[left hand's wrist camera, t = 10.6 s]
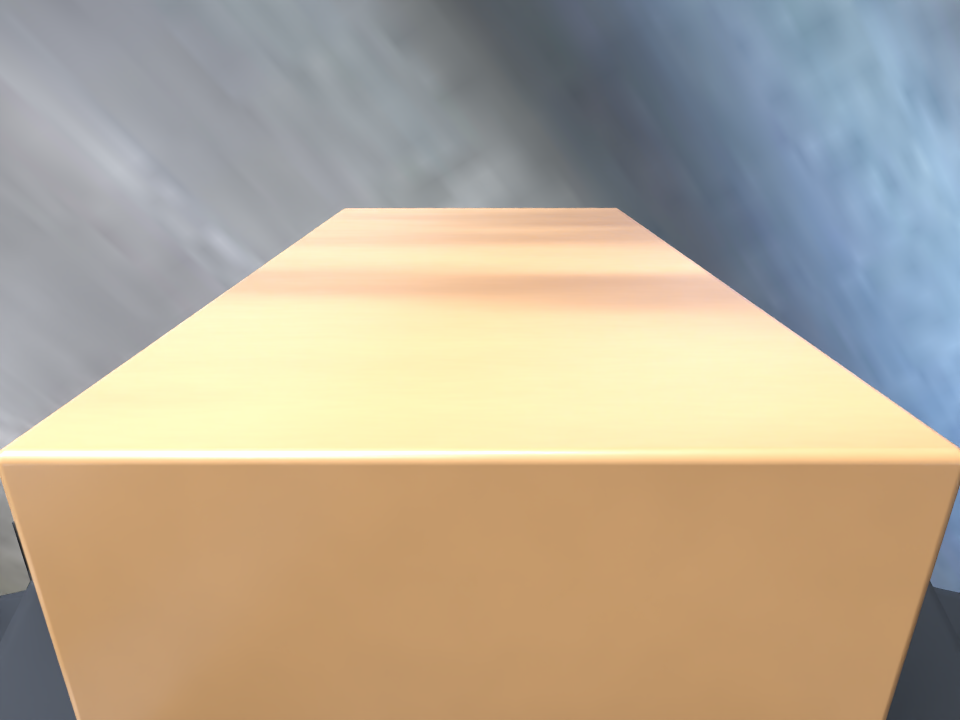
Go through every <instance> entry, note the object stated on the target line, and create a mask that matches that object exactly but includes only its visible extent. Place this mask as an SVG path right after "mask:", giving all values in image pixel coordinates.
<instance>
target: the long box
mask: <svg viewBox="0 0 960 720" xmlns="http://www.w3.org/2000/svg"><path fill="white" fill-rule="evenodd" d="M0 477H1V481H2V484H3V487H4V490H5V493H6V496H7V500H8V503H9V506H10V509H11V512H12V516H13V519H14V522H15V525H16V528H17V531H18V535H19V538H20V541H21V544H22V547H23V550H24V554H25V557H26V560H27V563H28V566H29V570H30V573H31V576H32V579H33V582H34V585H35V589H36V592H37V595H38V598H39V601H40V604H41V608H42V611H43V614H44V617H45V620H46V624H47V627H48V630H49V633H50V636H51V639H52V643H53V646H54V649H55V652H56V655H57V659H58V662H59V665H60V668H61V671H62V674H63V678H64V681H65V684H66V687H67V690H68V693H69V697H70V700H71V703H72V706H73V709H74V713H75V716H76V719H77V720H886V718H887V715H888V712H889V709H890V705H891V702H892V699H893V696H894V693H895V690H896V686H897V683H898V680H899V677H900V674H901V670H902V667H903V664H904V661H905V658H906V655H907V651H908V648H909V645H910V642H911V639H912V635H913V632H914V629H915V626H916V623H917V620H918V616H919V613H920V610H921V607H922V604H923V600H924V597H925V594H926V591H927V588H928V585H929V581H930V578H931V575H932V572H933V569H934V566H935V562H936V559H937V556H938V553H939V550H940V546H941V543H942V540H943V537H944V534H945V531H946V527H947V524H948V521H949V518H950V515H951V511H952V508H953V505H954V502H955V499H956V496H957V492H958V489H959V486H960V448H959V447H958V446H956V445H955V444H953V443H952V442H950V441H949V440H948V439H946V438H945V437H943V436H942V435H940V434H939V433H938V432H936V431H935V430H933V429H932V428H930V427H929V426H928V425H926V424H925V423H923V422H922V421H920V420H919V419H918V418H916V417H915V416H913V415H912V414H910V413H909V412H908V411H906V410H905V409H903V408H902V407H900V406H899V405H898V404H896V403H895V402H893V401H892V400H890V399H889V398H888V397H886V396H885V395H883V394H882V393H880V392H879V391H878V390H876V389H875V388H873V387H872V386H870V385H869V384H868V383H866V382H865V381H863V380H862V379H860V378H859V377H858V376H856V375H855V374H853V373H852V372H850V371H849V370H848V369H846V368H845V367H843V366H842V365H840V364H839V363H838V362H836V361H835V360H833V359H832V358H830V357H829V356H828V355H826V354H825V353H823V352H822V351H820V350H819V349H818V348H816V347H815V346H813V345H812V344H810V343H809V342H808V341H806V340H805V339H803V338H802V337H800V336H799V335H798V334H796V333H795V332H793V331H792V330H790V329H789V328H788V327H786V326H785V325H783V324H782V323H780V322H779V321H778V320H776V319H775V318H773V317H772V316H770V315H769V314H768V313H766V312H765V311H763V310H762V309H760V308H759V307H758V306H756V305H755V304H753V303H752V302H750V301H749V300H748V299H746V298H745V297H743V296H742V295H740V294H739V293H738V292H736V291H735V290H733V289H732V288H730V287H729V286H728V285H726V284H725V283H723V282H722V281H720V280H719V279H718V278H716V277H715V276H713V275H712V274H710V273H709V272H708V271H706V270H705V269H703V268H702V267H700V266H699V265H698V264H696V263H695V262H693V261H692V260H690V259H689V258H688V257H686V256H685V255H683V254H682V253H680V252H679V251H678V250H676V249H675V248H673V247H672V246H670V245H669V244H668V243H666V242H665V241H663V240H662V239H660V238H659V237H658V236H656V235H655V234H653V233H652V232H650V231H649V230H648V229H646V228H645V227H643V226H642V225H640V224H639V223H638V222H636V221H635V220H633V219H632V218H630V217H629V216H628V215H626V214H625V213H623V212H622V211H620V210H619V209H617V208H345V209H343V210H341V211H340V212H339V213H337V214H336V215H334V216H333V217H332V218H330V219H329V220H327V221H326V222H324V223H323V224H322V225H320V226H319V227H317V228H316V229H314V230H313V231H312V232H310V233H309V234H307V235H306V236H304V237H303V238H302V239H300V240H299V241H297V242H296V243H295V244H293V245H292V246H290V247H289V248H287V249H286V250H285V251H283V252H282V253H280V254H279V255H277V256H276V257H275V258H273V259H272V260H270V261H269V262H267V263H266V264H265V265H263V266H262V267H260V268H259V269H257V270H256V271H255V272H253V273H252V274H250V275H249V276H248V277H246V278H245V279H243V280H242V281H240V282H239V283H238V284H236V285H235V286H233V287H232V288H230V289H229V290H228V291H226V292H225V293H223V294H222V295H220V296H219V297H218V298H216V299H215V300H213V301H212V302H211V303H209V304H208V305H206V306H205V307H203V308H202V309H201V310H199V311H198V312H196V313H195V314H193V315H192V316H191V317H189V318H188V319H186V320H185V321H183V322H182V323H181V324H179V325H178V326H176V327H175V328H174V329H172V330H171V331H169V332H168V333H166V334H165V335H164V336H162V337H161V338H159V339H158V340H156V341H155V342H154V343H152V344H151V345H149V346H148V347H146V348H145V349H144V350H142V351H141V352H139V353H138V354H137V355H135V356H134V357H132V358H131V359H129V360H128V361H127V362H125V363H124V364H122V365H121V366H119V367H118V368H117V369H115V370H114V371H112V372H111V373H109V374H108V375H107V376H105V377H104V378H102V379H101V380H99V381H98V382H97V383H95V384H94V385H92V386H91V387H90V388H88V389H87V390H85V391H84V392H82V393H81V394H80V395H78V396H77V397H75V398H74V399H72V400H71V401H70V402H68V403H67V404H65V405H64V406H62V407H61V408H60V409H58V410H57V411H55V412H54V413H53V414H51V415H50V416H48V417H47V418H45V419H44V420H43V421H41V422H40V423H38V424H37V425H35V426H34V427H33V428H31V429H30V430H28V431H27V432H25V433H24V434H23V435H21V436H20V437H18V438H17V439H16V440H14V441H13V442H11V443H10V444H8V445H7V446H6V447H4V448H3V449H1V450H0Z"/></svg>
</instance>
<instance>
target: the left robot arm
mask: <svg viewBox="0 0 960 720" xmlns="http://www.w3.org/2000/svg"><path fill="white" fill-rule="evenodd" d="M12 524H13V527H14V530H15V533H16V537H17V540H18V543H19V546H20V549H21V552H22V555H23V559H24V562H25V565H26V568H27V571H28V574H29V578H30V583H29V585H28V587H27V589H26V590H24V591H21V592H17V593H12V594H7V595H2V596H0V720H77V719H76V716H75V713H74V709H73V706H72V703H71V700H70V697H69V693H68V690H67V687H66V684H65V681H64V678H63V674H62V671H61V668H60V665H59V662H58V659H57V655H56V652H55V649H54V646H53V643H52V639H51V636H50V633H49V630H48V627H47V624H46V620H45V617H44V614H43V611H42V608H41V604H40V601H39V598H38V595H37V592H36V589H35V585H34V582H33V579H32V576H31V573H30V570H29V566H28V563H27V560H26V557H25V554H24V550H23V547H22V544H21V541H20V538H19V535H18V531H17V528H16V525H15V522H14V521H13V522H12ZM886 720H960V593H958V592H953V591H948V590H943V589H939V588H936V587H933V586H932V584H931V582H930V581H929V585H928V588H927V591H926V594H925V597H924V600H923V604H922V607H921V610H920V613H919V616H918V620H917V623H916V626H915V629H914V632H913V635H912V639H911V642H910V645H909V648H908V651H907V655H906V658H905V661H904V664H903V667H902V670H901V674H900V677H899V680H898V683H897V686H896V690H895V693H894V696H893V699H892V702H891V705H890V709H889V712H888V715H887V718H886Z"/></svg>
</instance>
